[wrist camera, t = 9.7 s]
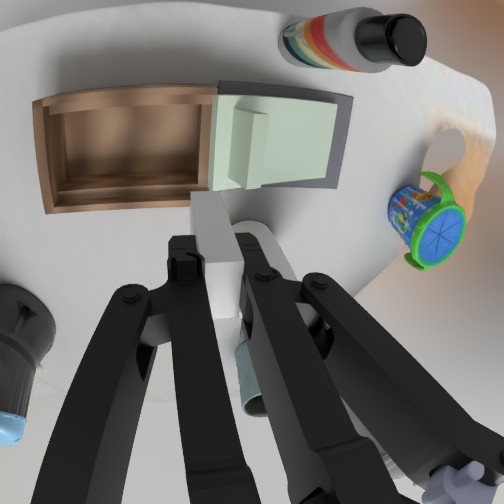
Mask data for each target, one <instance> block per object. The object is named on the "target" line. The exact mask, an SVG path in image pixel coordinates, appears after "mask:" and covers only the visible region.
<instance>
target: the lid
mask: <svg viewBox="0 0 504 504" xmlns="http://www.w3.org/2000/svg"><path fill="white" fill-rule="evenodd" d="M337 106H338V104H334V103H329V102H321V101H313V100H304V99H294V98H283V97H270V96H254V95H224V94H217V95H213V102H212V116H211V131H210V148H209V167H208V188H209V189H210V190H211V191H219V190H226V189H233V188H240V187H243V188H245V189H246V190H249V189H256V188H261V185H263V184H271V183H279V182H288V181H297V180H306V179H316V178H325V175H326V170H327V165H328V159H329V154H330V148H331V142H332V137H333V131H334V125H335V119H336V112H337Z"/></svg>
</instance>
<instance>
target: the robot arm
mask: <svg viewBox="0 0 504 504" xmlns="http://www.w3.org/2000/svg"><path fill="white" fill-rule="evenodd" d="M168 254H169V257H168V260H167V269H168V280H167V282H166V283H165V284H164V285H162V286H161V287H159V288H156V289H154V290H150V291H148V289H147V288H146V287H144V286H143V285H139V284H128V285H124V286H122V287H120V288H118V289H117V290H116V291H115V292H114V294H113V296H112V298H111V300H110V301H109V303H108V305H107V307H106V309H105V311H104V313H103V315H102V317H101V319H100V322H99V324H98V326H97V328H96V330H95V332H94V334H93V336H92V338H91V340H90V343H89V345H88V347H87V349H86V351H85V353H84V356H83V358H82V360H81V362H80V365H79V367H78V369H77V372H76V374H75V376H74V379H73V381H72V383H71V386H70V388H69V391H68V393H67V395H66V398H65V400H64V403H63V406H62V408H61V411H60V413H59V416H58V419H57V421H56V424H55V427H54V430H53V432H52V435H51V438H50V441H49V444H48V447H47V450H46V453H45V456H44V459H43V462H42V465H41V468H40V472H39V475H38V478H37V482H36V485H35V489H34V492H33V496H32V500H31V503H30V504H121V501H122V495H123V490H124V485H125V479H126V475H127V470H128V465H129V461H130V456H131V452H132V447H133V442H134V438H135V434H136V430H137V425H138V421H139V417H140V413H141V409H142V405H143V401H144V397H145V393H146V389H147V386H148V382H149V378H150V374H151V370H152V367H153V363H154V360H155V356H156V352H157V347H158V345H160V344H163V343H167V342H170V341H171V345H172V358H173V370H174V382H175V392H176V401H177V410H178V419H179V427H180V434H181V442H182V449H183V456H184V463H185V469H186V480H187V487H188V493H189V498H190V504H261V501H260V498H259V494H258V491H257V487H256V483H255V480H254V477H253V474H252V472H251V469H250V468H249V466H247V464H246V461H245V459H244V455H243V451H242V447H241V443H240V439H239V435H238V432H237V427H236V424H235V419H234V415H233V411H232V406H231V402H230V398H229V393H228V389H227V385H226V380H225V376H224V371H223V366H222V362H221V357H220V352H219V348H218V343H217V338H216V333H215V328H214V323H213V319H222V318H235V317H239V312H240V310H241V313H242V323H241V333H240V339H243V335H244V337H245V340H246V344H247V347H248V351H249V354H250V358H251V361H252V364H253V368H254V371H255V375H256V378H257V381H258V385H259V388H260V392H261V395H262V398H263V402H264V405H265V408H266V411H267V415H268V418H269V421H270V424H271V428H272V431H273V433H274V437H275V440H276V444H277V447H278V450H279V453H280V456H281V460H282V462H283V466H284V469H285V471H286V475H287V480H288V495H289V498H290V502H291V504H420V503H418V502H416V501H414V500H411V499H410V498H408V497H405V496H404V495H402V494H400V493H398V491H397V489H396V486H395V484H394V482H393V480H392V478H391V476H390V474H389V471H388V469H387V467H386V465H385V463H384V461H383V459H382V457H381V455H380V452H379V450H378V448H377V447H376V445H375V443H374V442H373V441H372V440H371V439H370V438H369V437H364V436H360V435H359V434H358V433H357V431H356V429H355V427H354V425H353V423H352V421H351V418H350V416H349V414H348V412H347V410H346V408H345V406H344V404H343V401H342V399H343V400H344V401H345V402H346V404H347V405H348V406H349V407H350V409H351V410H352V411H353V412H354V414H355V415H356V416H357V417H358V419H359V420H360V421H361V422H362V424H363V425H364V426H365V427H366V428H367V430H368V431H369V432H370V433H371V435H372V436H373V437H374V438H375V439H376V441H377V442H378V443H379V444H380V446H381V447H382V448H383V449H384V450H385V452H386V453H387V454H388V455H389V456H390V458H391V459H392V460H393V461H394V463H395V464H396V465H397V466H398V467H399V468H400V469H401V471H402V472H403V473H404V474H405V475H406V476H407V477H408V478H409V479H411V480H412V481H413V482H414V483H415V484H417V485H418V486H420V487H421V488H423V489H425V490H426V491H425V492H424V493H423V495H422V502H423V504H492V501H493V498H494V496H495V493H496V490H497V487H498V486H499V485H500V484H501V483H502V482H504V437H503V436H501V435H499V434H497V433H495V432H494V431H492V430H490V429H489V428H487V427H485V426H483V425H481V424H480V423H478V422H476V421H474V420H473V419H472V418H471V417H470V416H469V414H468V413H467V412H466V411H465V410H464V409H463V408H462V407H461V406H460V405H459V404H458V403H457V402H456V401H455V400H454V399H453V397H452V396H450V394H449V393H448V392H447V391H446V390H445V389H444V388H443V387H442V386H441V385H440V384H439V383H438V382H437V381H436V380H435V379H434V378H433V377H432V376H431V375H430V374H429V373H428V372H427V371H426V370H425V369H424V368H423V367H422V365H420V363H419V362H417V360H416V359H415V358H414V357H413V356H412V355H411V354H410V353H409V352H408V351H407V350H406V349H405V348H404V347H403V346H402V345H401V344H399V342H398V341H397V340H396V339H395V338H394V337H392V336H391V334H390V333H388V331H386V330H385V329H384V328H383V327H382V326H381V325H380V324H379V323H378V322H377V321H376V320H375V319H374V318H373V317H372V316H371V315H370V314H369V313H368V312H367V311H366V310H365V309H364V308H363V307H362V306H361V305H360V304H359V303H357V301H356V300H355V299H354V298H352V297H351V296H350V295H349V294H348V293H347V292H346V291H345V290H344V289H343V288H342V287H341V286H340V285H339V284H338V283H337V282H336V281H335V280H334V279H332V278H331V277H329V276H328V275H325V274H323V273H317V272H314V273H309V274H307V275H305V276H304V278H303V280H302V282H300V281H293V280H288V279H284V278H283V277H282V275H281V273H280V272H279V271H278V270H277V269H275V268H273V267H270V265H269V262H268V260H267V258H266V256H265V254H264V252H263V251H262V248H261V245H260V243H259V241H258V239H257V238H256V237H255V236H254V235H253V234H251V233H250V232H244V233H234V231H233V228H232V226H231V223H230V220H229V217H228V215H227V212H226V209H225V206H224V203H223V201H222V198H221V195H220V192H219V191H191V210H190V235H180V236H172V238H171V239H170V240H169V242H168ZM325 322H326V323H327V324H328V325H329V326H330V328H329V327H328V326H326V324H325ZM55 334H56V326H55V322H54V319H53V317H52V315H51V314H50V312H49V311H48V309H47V308H46V307H45V306H44V305H43V303H42V302H41V301H39V300H38V299H37V298H36V297H35V296H33V295H32V294H30V293H29V292H27V291H25V290H23V289H21V288H19V287H16V286H12V285H7V284H0V445H4V446H11V445H15V444H17V443H19V442H20V440H21V439H22V435H23V431H24V427H25V423H26V422H27V420H26V416H27V410H28V404H29V399H30V394H31V389H32V385H33V380H34V376H35V372H36V368H37V366H38V365H39V363H40V362H41V360H42V359H43V358H44V356H45V355H46V353H47V352H48V351H49V350H50V349H51V347H52V345H53V342H54V338H55ZM340 396H341V397H342V399H341V397H340Z"/></svg>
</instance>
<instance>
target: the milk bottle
mask: <svg viewBox="0 0 504 504" xmlns="http://www.w3.org/2000/svg"><path fill="white" fill-rule="evenodd" d="M232 228H233V231H234V233H244V232H250V233H251V234H253V235H254V236H255V237H256V238H257V239H258V241H259V243H260V245H261V248H262V251H263V252H264V254H265V256H266V258H267V260H268V262H269V265H270V267H273V268H275V269H277V270H278V271H279V272H280V273H281V275H282V277H283V278H284V279H288V280H293V281H297V279H296V276H295V274H294V272H293V270H292V268H291V266H290V264H289V262H288V261H287V259H286V257H285V255H284V253H283V251H282V250H281V248H280V246H279V244H278V242H277V240H276V239H275V237H274V235H273V234H272V232H271V230H270V229H269V228H268V227H267V226H266V225H264V224H262V223H260V222H257V221H252V220H250V221H248V220H246V221H241V222H238V223H236V224H234V225H232ZM239 316H240V318H241V319H242V313H241V310H240V312H239Z"/></svg>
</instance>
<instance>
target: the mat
mask: <svg viewBox="0 0 504 504" xmlns="http://www.w3.org/2000/svg"><path fill="white" fill-rule="evenodd" d="M218 94H224V95H254V96H270V97H283V98H294V99H304V100H313V101H321V102H329V103H334V104H338V106H337V112H336V119H335V125H334V131H333V137H332V142H331V148H330V154H329V159H328V165H327V170H326V175H325V178H316V179H306V180H297V181H288V182H279V183H271V184H263V185H261V186H265V187H305V188H329V189H337V185H338V180H339V175H340V170H341V165H342V160H343V155H344V150H345V144H346V139H347V133H348V128H349V122H350V116H351V110H352V104H353V97H349V96H344V95H338V94H333V93H327V92H322V91H315V90H309V89H302V88H295V87H288V86H279V85H270V84H260V83H249V82H234V81H219V92H218Z"/></svg>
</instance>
